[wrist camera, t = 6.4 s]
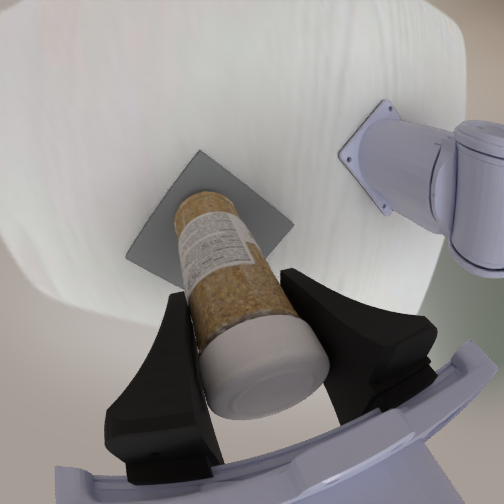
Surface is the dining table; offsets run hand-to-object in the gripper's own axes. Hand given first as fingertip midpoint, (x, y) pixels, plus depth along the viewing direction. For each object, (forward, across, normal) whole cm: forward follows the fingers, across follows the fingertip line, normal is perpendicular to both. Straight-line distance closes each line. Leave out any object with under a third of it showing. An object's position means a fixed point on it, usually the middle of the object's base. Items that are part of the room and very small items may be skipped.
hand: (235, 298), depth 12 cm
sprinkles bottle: (+8, 0, -1) cm, 9 cm away
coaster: (+10, 0, +2) cm, 11 cm away
